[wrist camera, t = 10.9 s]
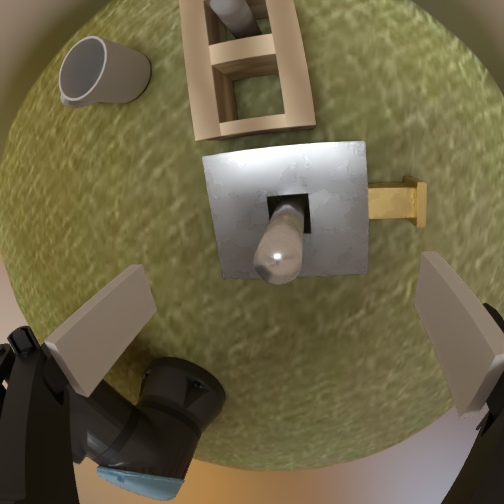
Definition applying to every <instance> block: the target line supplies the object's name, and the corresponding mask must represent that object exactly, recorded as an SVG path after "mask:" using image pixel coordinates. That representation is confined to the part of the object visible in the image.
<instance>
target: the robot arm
mask: <svg viewBox="0 0 504 504" xmlns="http://www.w3.org/2000/svg"><path fill="white" fill-rule="evenodd" d="M414 307H415V309H416V311H417V313H418V315H419V317H420V319H421V321H422V324H423V326H424V328H425V330H426V332H427V334H428V337H429V339H430V341H431V343H432V346H433V348H434V350H435V353H436V355H437V357H438V360H439V362H440V365H441V367H442V370H443V372H444V375H445V377H446V380H447V383H448V385H449V388H450V391H451V394H452V396H453V399H454V402H455V405H456V408H457V411H458V414H459V418H460V419H462V418H466V417H469V416H472V415H475V414H478V413H479V412H480V410H481V409H482V407H483V406H484V404H485V403H487V405H488V408H489V411H488V413H487V414H486V415H485V417H484V418H483V419H482V421H481V422H480V424H479V425H478V426H477V428H476V430H479V428H480V427H481V428H480V431H479V433H478V435H477V438H476V440H475V443H474V445H473V447H472V449H471V451H470V453H469V455H468V458H467V459H466V461H465V463H464V466H463V467H462V469H461V471H460V473H459V475H458V476H457V478H456V480H455V482H454V483H453V485H452V487H451V488H450V490H449V492H448V493H447V495H446V497H445V498H444V500H443V501H442V503H441V504H504V320H503V318H502V317H501V315H500V314H499V313H498V311H497V310H496V309H494V308H493V307H491V306H490V305H489V304H487V303H484V304H482V303H481V302H480V301H479V299H478V298H477V297H476V296H475V294H474V293H473V292H472V291H471V290H470V288H469V287H468V286H467V285H466V284H465V282H464V281H463V280H462V279H461V278H460V277H459V275H458V274H457V273H456V272H455V271H454V270H453V269H452V267H451V266H450V265H449V264H448V263H447V262H446V261H445V260H444V259H443V258H442V257H441V255H440V254H439V253H438V252H437V251H425V252H421V261H420V269H419V277H418V284H417V290H416V297H415V302H414ZM156 311H157V309H156V306H155V303H154V300H153V296H152V293H151V290H150V287H149V284H148V281H147V277H146V274H145V271H144V267H143V264H138V265H130V266H129V267H128V268H126V269H125V270H124V271H123V272H122V273H120V274H119V275H118V276H117V277H115V278H114V279H113V280H112V281H111V282H109V283H108V284H107V285H106V286H105V287H103V288H102V289H101V290H100V291H99V292H97V293H96V294H95V295H94V296H93V297H92V298H90V299H89V300H88V301H87V302H86V303H85V304H84V305H82V306H81V307H80V308H79V309H78V310H77V311H76V312H74V313H73V314H72V315H71V316H70V317H69V318H68V319H67V320H65V321H64V322H63V323H62V324H61V325H60V326H59V327H58V328H57V329H56V330H55V331H53V332H52V333H51V334H50V335H49V336H48V337H47V338H46V339H45V340H44V343H43V344H42V345H41V346H40V344H39V343H38V341H37V339H36V337H35V335H34V333H33V332H32V330H31V328H30V327H29V326H22V327H19V328H17V329H16V330H14V331H13V332H12V333H11V334H10V335H9V336H8V338H7V339H8V341H9V343H10V344H11V346H12V347H11V346H10V345H9V344H6V343H5V344H0V504H80V503H79V498H78V493H77V487H76V481H75V474H74V467H73V465H79V464H80V463H81V462H82V461H83V459H84V458H85V457H88V458H90V459H91V460H93V461H94V462H96V463H97V464H98V465H99V466H98V467H97V474H98V475H99V476H100V477H102V478H103V479H105V480H106V481H108V482H110V483H112V484H114V485H116V486H118V487H120V488H122V489H125V490H127V491H130V492H132V493H135V494H138V495H141V496H144V497H147V498H151V499H155V500H160V501H169V500H172V499H174V498H175V497H176V495H177V493H178V491H179V489H180V488H181V485H182V484H183V483H184V478H185V476H186V473H187V471H188V468H189V465H190V463H191V460H192V458H193V455H194V452H195V450H196V447H197V444H198V442H199V439H200V436H201V434H202V432H203V431H204V430H205V429H206V428H207V427H208V426H209V424H210V423H211V422H212V421H213V420H214V419H215V418H216V417H217V416H218V414H219V413H220V412H221V410H222V407H223V404H224V401H225V394H224V391H223V388H222V387H221V385H220V384H219V383H218V381H217V380H216V379H215V378H214V377H213V376H211V375H210V374H209V373H208V372H206V371H205V370H203V369H201V368H200V367H198V366H196V365H194V364H192V363H189V362H187V361H184V360H180V359H175V358H159V359H156V360H154V361H152V362H151V363H150V364H149V366H148V368H147V369H146V371H145V372H144V375H143V379H142V384H141V389H140V395H139V400H138V403H137V404H136V406H134V405H133V404H132V403H130V402H129V401H128V400H127V399H126V398H124V397H123V396H122V395H121V394H120V393H118V392H117V391H116V390H115V389H114V388H113V387H112V386H110V385H109V384H108V383H107V382H106V381H105V380H104V379H103V377H104V376H105V375H106V373H107V372H108V371H109V370H110V368H111V367H112V366H113V365H114V363H115V362H116V361H117V359H118V358H119V357H120V356H121V354H122V353H123V352H124V351H125V349H126V348H127V347H128V346H129V344H130V343H131V342H132V341H133V339H134V338H135V337H136V336H137V334H138V333H139V332H140V331H141V329H142V328H143V327H144V326H145V324H146V323H147V322H148V321H149V320H150V318H151V317H152V316H153V315H154V314H155V312H156ZM12 348H13V349H12ZM13 350H14V351H15V353H14V351H13ZM3 380H5V381H6V382H7V384H8V387H7V390H6V389H5V387H4V386H3V385H2V382H3Z"/></svg>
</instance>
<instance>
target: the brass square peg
mask: <svg viewBox="0 0 504 504" xmlns="http://www.w3.org/2000/svg"><path fill="white" fill-rule="evenodd" d="M403 178H404V183H368V207H369V219H382V218H407V219H408V220H409V221H410V222H411V223H412V224H413V225H414V226H416V227H425V225H426V197H427V182H424V181H422V180H420V179H417V178H414V177H412V176H403Z"/></svg>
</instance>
